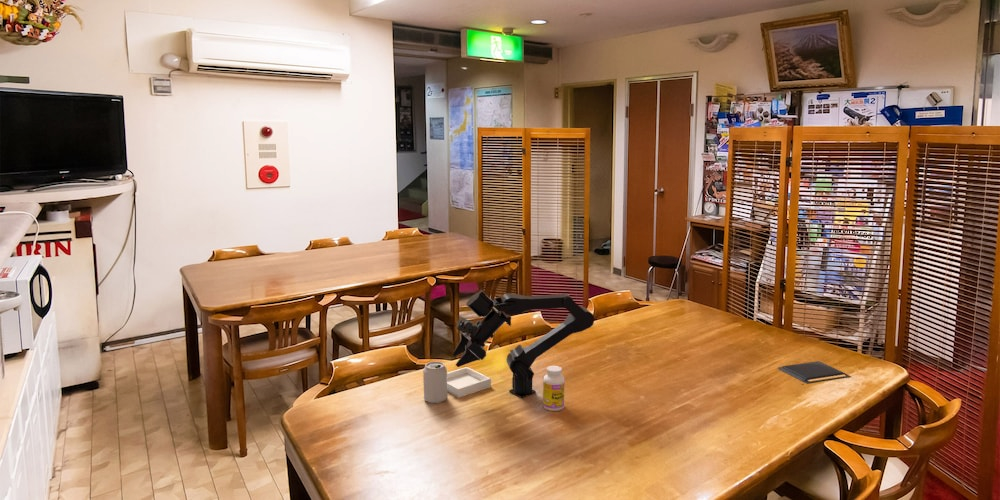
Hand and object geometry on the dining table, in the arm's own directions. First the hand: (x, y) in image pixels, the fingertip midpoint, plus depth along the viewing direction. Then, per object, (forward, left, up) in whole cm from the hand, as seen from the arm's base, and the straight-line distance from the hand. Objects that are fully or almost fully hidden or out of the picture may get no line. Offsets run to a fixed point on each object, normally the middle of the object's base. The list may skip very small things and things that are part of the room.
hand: (455, 360), depth 197 cm
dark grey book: (-65, -110, -14) cm, 129 cm away
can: (+3, +6, -13) cm, 15 cm away
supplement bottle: (-25, -20, -13) cm, 34 cm away
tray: (+6, -7, -13) cm, 16 cm away
